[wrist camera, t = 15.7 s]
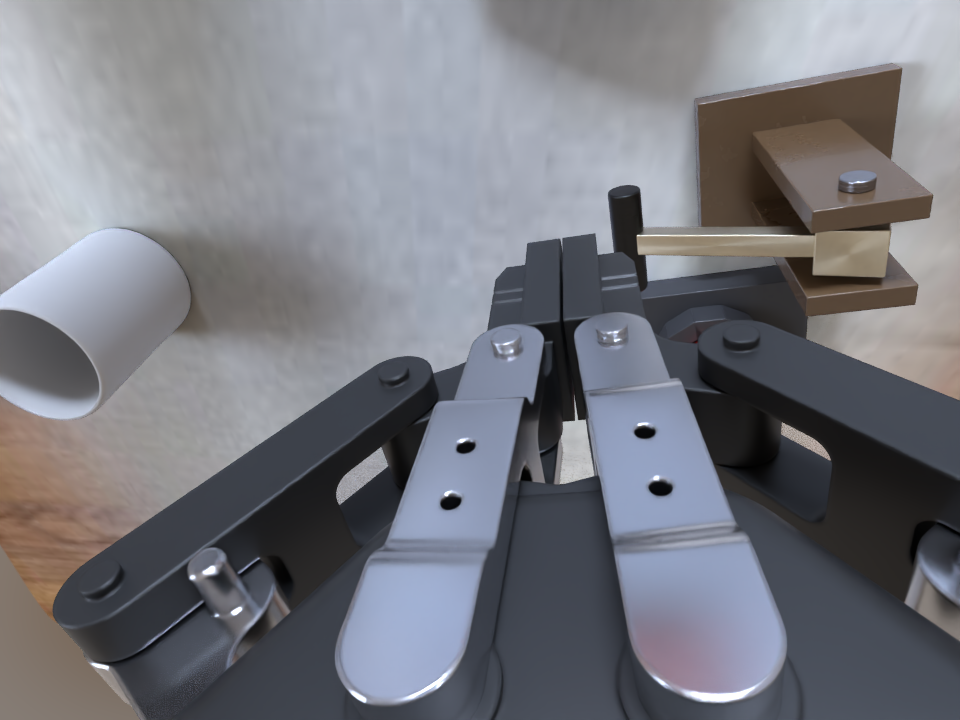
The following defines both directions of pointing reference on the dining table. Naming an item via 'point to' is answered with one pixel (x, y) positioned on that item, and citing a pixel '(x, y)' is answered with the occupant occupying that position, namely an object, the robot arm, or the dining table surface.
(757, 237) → the lever
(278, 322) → the dining table surface
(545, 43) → the dining table surface
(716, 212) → the bracket
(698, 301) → the button box
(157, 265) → the mug
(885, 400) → the robot arm
